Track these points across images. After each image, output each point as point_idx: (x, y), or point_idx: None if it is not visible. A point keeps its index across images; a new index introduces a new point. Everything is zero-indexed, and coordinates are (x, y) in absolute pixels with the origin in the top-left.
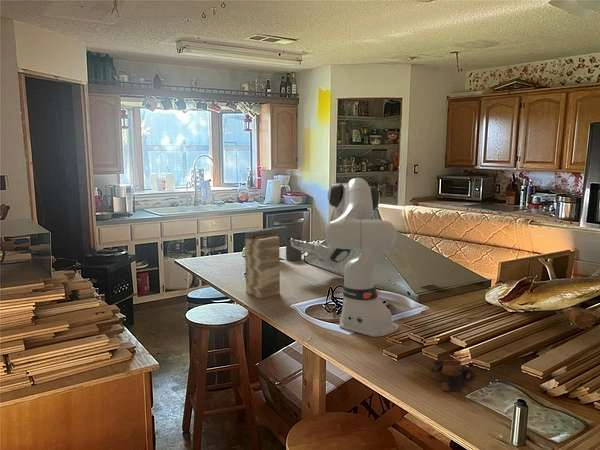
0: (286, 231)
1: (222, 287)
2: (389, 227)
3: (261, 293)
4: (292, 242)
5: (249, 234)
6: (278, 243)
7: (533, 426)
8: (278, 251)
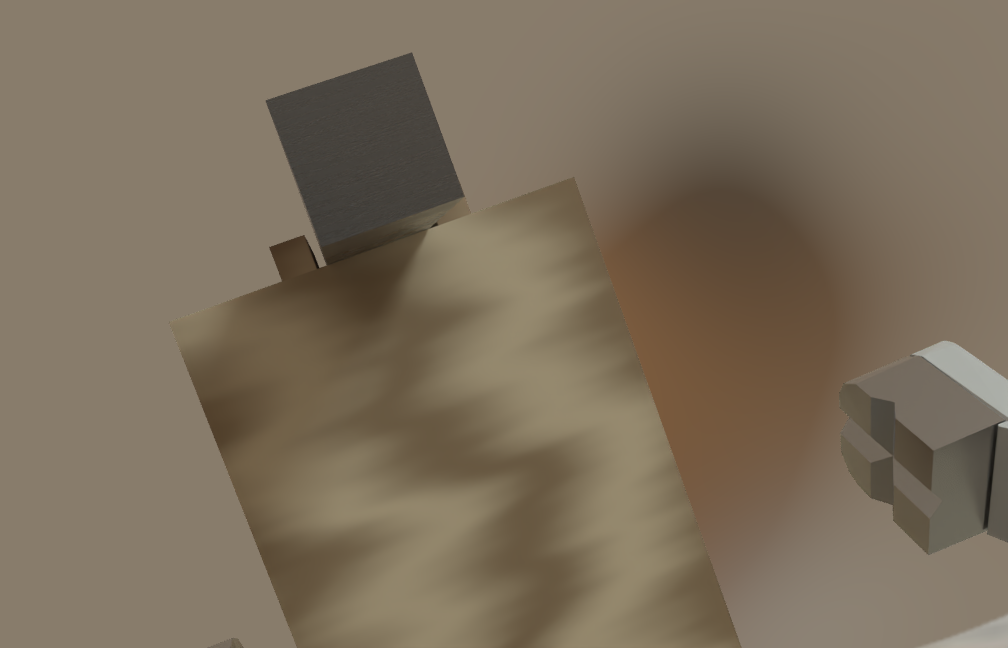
0: (304, 202)
1: (952, 638)
2: None
3: None
4: (891, 504)
5: (313, 230)
6: (207, 415)
7: None
8: (255, 533)
